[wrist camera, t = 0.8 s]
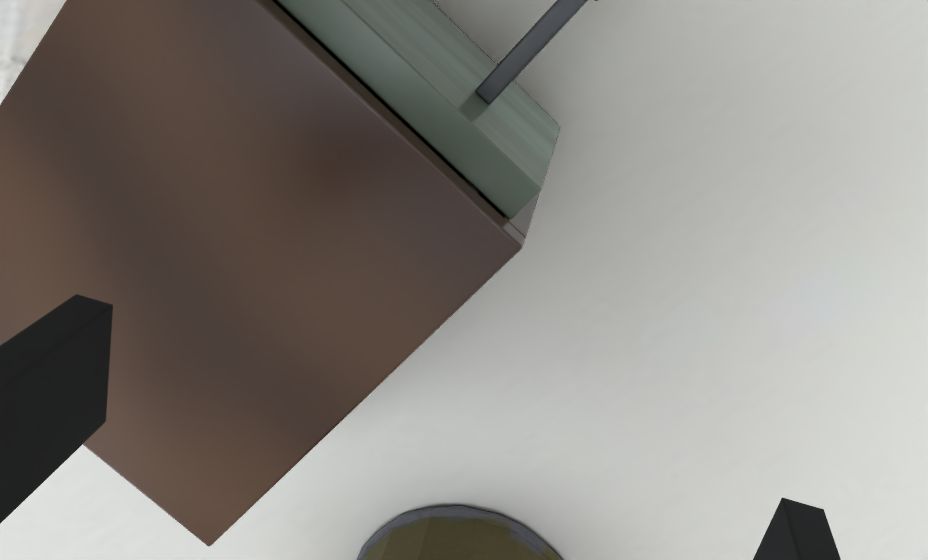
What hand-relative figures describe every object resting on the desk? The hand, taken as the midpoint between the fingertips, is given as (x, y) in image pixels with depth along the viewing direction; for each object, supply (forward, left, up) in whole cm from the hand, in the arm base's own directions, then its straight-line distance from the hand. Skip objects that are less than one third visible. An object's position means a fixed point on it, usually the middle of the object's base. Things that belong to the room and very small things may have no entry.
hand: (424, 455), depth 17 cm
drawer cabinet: (+5, -7, -17) cm, 19 cm away
